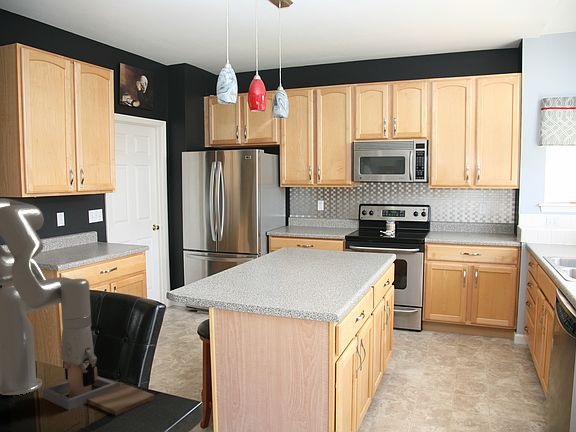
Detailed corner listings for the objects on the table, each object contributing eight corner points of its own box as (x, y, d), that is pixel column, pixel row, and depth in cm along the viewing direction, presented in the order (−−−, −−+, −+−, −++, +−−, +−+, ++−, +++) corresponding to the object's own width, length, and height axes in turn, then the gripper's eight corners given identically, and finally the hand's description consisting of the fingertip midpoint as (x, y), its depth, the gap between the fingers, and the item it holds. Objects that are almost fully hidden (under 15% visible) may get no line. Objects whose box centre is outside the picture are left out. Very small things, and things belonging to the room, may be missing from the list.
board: (86, 403, 129) (86, 398, 129) (125, 388, 139) (125, 384, 139) (115, 415, 121) (115, 411, 121) (154, 399, 130) (154, 394, 130)
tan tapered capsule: (61, 397, 134) (59, 362, 134) (91, 386, 141) (89, 353, 141) (72, 402, 130) (70, 366, 130) (102, 391, 137) (100, 357, 137)
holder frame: (43, 398, 134) (42, 389, 134) (90, 381, 145) (90, 373, 145) (68, 410, 125) (68, 401, 125) (117, 391, 137) (116, 383, 137)
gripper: (49, 321, 137) (52, 379, 137) (80, 329, 126) (83, 392, 127) (73, 316, 143) (76, 371, 143) (105, 323, 132) (108, 383, 133)
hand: (79, 381), depth 135 cm, fingers open, 9 cm apart
